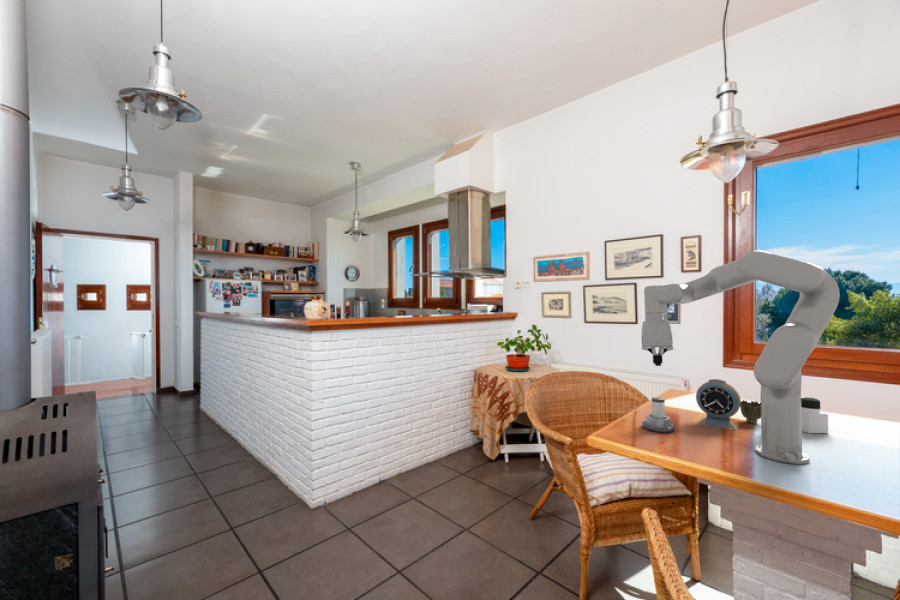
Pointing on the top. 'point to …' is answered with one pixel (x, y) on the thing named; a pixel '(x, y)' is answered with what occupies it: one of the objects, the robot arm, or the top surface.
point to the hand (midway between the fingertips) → (657, 365)
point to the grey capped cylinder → (658, 408)
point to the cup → (751, 411)
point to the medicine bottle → (813, 416)
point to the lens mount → (658, 424)
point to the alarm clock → (718, 404)
